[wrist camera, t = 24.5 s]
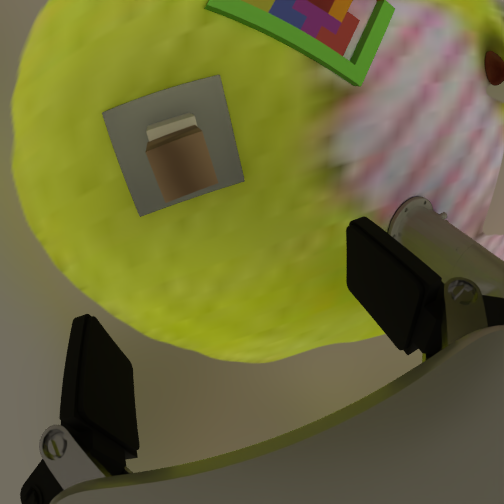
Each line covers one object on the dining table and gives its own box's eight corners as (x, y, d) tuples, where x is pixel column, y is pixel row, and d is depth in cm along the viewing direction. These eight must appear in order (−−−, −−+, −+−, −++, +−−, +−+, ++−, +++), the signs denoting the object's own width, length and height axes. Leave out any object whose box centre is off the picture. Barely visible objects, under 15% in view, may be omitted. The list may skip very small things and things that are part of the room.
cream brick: (189, 112, 30) (194, 115, 26) (204, 166, 34) (211, 178, 30) (147, 125, 30) (146, 131, 26) (164, 179, 34) (165, 193, 30)
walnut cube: (195, 124, 27) (202, 130, 23) (209, 168, 30) (218, 183, 26) (147, 142, 26) (145, 152, 22) (164, 185, 29) (165, 203, 25)
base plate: (217, 75, 30) (219, 74, 29) (242, 178, 38) (244, 181, 37) (103, 112, 28) (102, 112, 27) (140, 213, 36) (140, 216, 35)
